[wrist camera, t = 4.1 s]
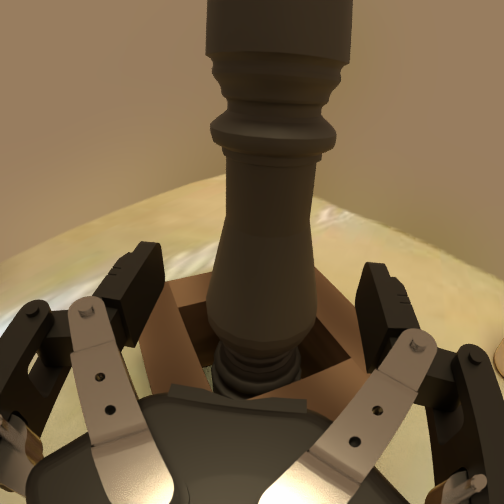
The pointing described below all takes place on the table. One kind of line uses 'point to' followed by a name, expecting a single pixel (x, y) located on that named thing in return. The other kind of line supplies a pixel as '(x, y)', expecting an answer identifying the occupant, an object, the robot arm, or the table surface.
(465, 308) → the table surface
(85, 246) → the table surface
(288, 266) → the candle holder
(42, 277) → the table surface
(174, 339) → the bore block
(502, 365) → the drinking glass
